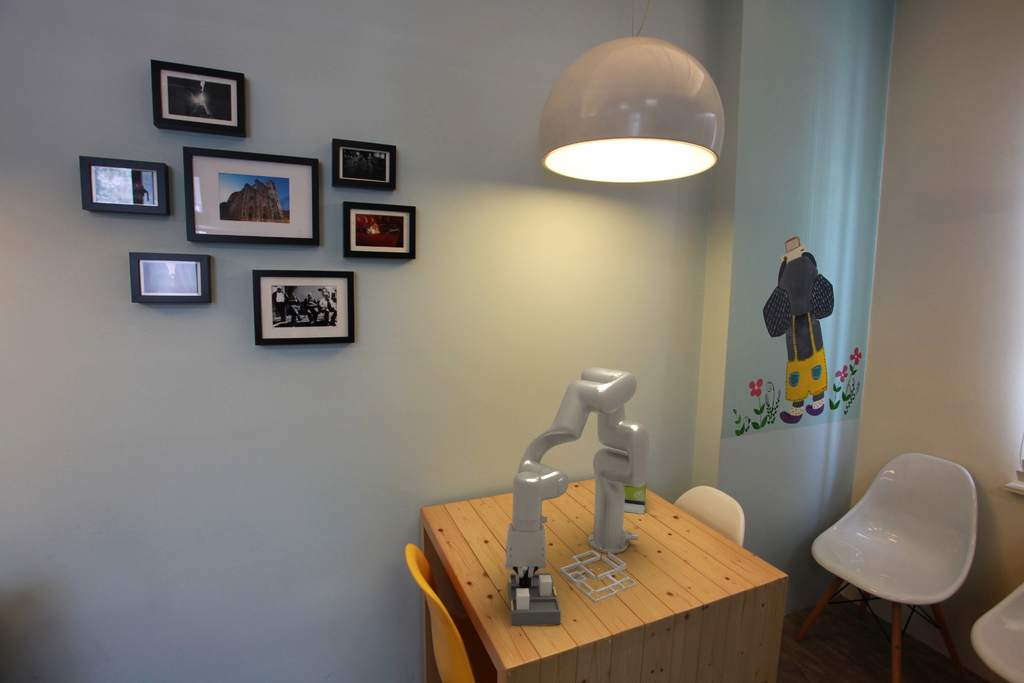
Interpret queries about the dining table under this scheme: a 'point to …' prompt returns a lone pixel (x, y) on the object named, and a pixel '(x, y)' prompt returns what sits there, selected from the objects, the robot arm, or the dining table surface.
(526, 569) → the white rectangular block
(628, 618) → the dining table surface
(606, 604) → the dining table surface
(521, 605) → the tab
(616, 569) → the floor plan model
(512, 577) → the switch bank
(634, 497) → the tea box
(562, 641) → the dining table surface
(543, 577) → the white block
